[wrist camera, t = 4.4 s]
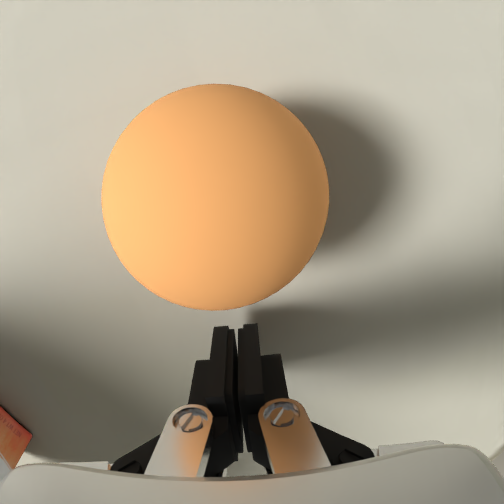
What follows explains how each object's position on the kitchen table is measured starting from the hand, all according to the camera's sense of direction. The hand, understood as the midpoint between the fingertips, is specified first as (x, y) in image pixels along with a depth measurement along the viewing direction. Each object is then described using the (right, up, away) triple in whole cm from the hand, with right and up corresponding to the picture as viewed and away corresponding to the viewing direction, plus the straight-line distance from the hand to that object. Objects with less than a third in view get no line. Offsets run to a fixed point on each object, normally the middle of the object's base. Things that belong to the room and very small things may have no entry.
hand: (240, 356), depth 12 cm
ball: (-1, +6, -4) cm, 7 cm away
